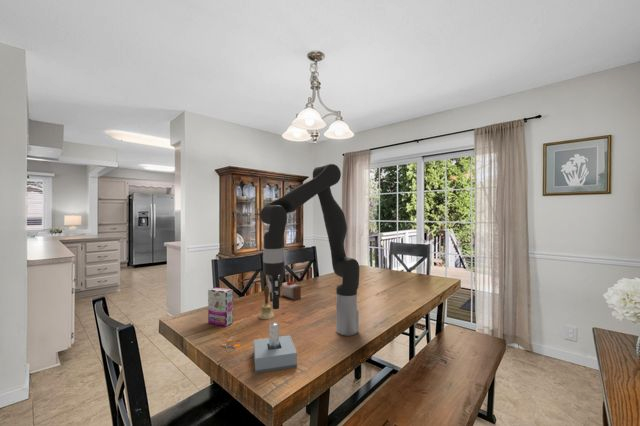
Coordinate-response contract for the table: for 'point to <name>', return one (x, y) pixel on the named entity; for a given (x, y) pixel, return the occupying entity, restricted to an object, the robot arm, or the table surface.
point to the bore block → (274, 355)
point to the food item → (291, 290)
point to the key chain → (229, 344)
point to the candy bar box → (220, 306)
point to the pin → (273, 335)
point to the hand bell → (266, 306)
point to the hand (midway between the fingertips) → (274, 304)
